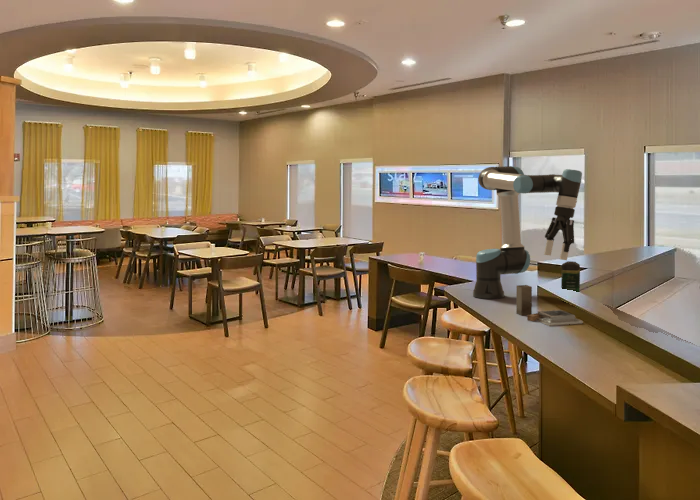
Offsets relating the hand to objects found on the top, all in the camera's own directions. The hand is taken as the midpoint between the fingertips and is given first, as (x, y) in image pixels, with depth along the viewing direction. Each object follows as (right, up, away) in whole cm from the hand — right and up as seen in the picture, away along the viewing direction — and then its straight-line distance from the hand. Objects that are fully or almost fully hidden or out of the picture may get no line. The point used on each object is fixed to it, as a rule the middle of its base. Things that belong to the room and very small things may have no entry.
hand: (555, 257), depth 213 cm
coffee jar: (+17, -21, +24) cm, 36 cm away
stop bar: (-13, -24, +1) cm, 27 cm away
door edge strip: (-7, -24, -6) cm, 26 cm away
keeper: (-4, -25, -12) cm, 28 cm away
